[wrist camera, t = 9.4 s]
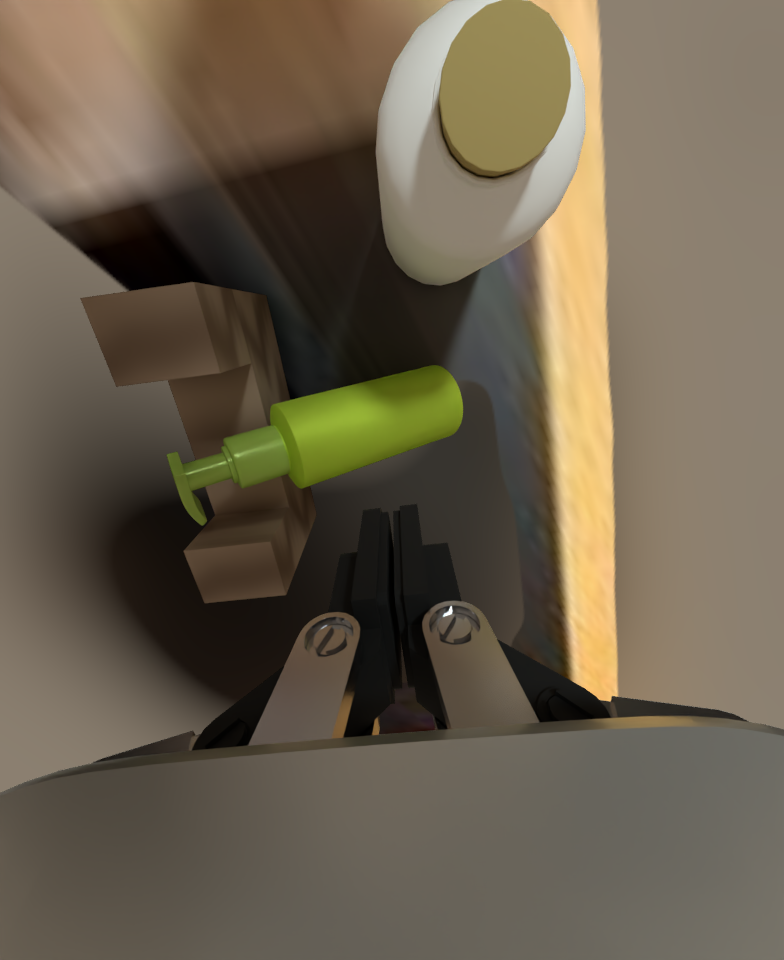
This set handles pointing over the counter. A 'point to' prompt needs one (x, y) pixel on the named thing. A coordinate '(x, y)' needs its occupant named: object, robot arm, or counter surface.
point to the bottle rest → (215, 419)
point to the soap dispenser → (330, 434)
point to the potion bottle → (476, 136)
